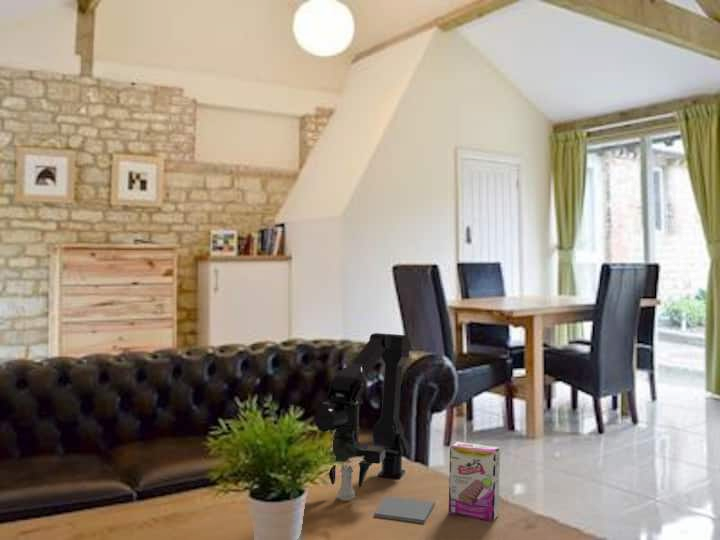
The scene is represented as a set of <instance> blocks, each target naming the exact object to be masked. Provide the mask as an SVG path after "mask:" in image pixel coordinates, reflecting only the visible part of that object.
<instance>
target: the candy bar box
mask: <svg viewBox="0 0 720 540" xmlns="http://www.w3.org/2000/svg"><path fill="white" fill-rule="evenodd" d="M500 460H501V448H500V447H498V446H491V445H485V444H478V443H471V442H463V441H457V440H456V441H454V442H453V443H452V444H450V446H449V478H448V481H449V482H448V483H449V484H448V487H449V488H448V514H451V515H457V516H461V517H466V518H471V519H477V520H483V521H487V522H495V521H496V519H497V518H498V516H499V515H500V513H499V512H500V511H499V510H500V509H499V508H500V506H499V504H500V465H501V461H500Z"/></svg>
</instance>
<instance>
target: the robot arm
mask: <svg viewBox="0 0 720 540" xmlns="http://www.w3.org/2000/svg"><path fill="white" fill-rule="evenodd" d="M411 347H412V342H411V340H410V339H409V337H408V336H407V335H406V334H396V333H395V334H394V333H381V332H379V333H378V332H374V333H372V334H370V337H369V340H368V341H367V343H366V345H364V347H362V350H361V351H360V352H359V354H358V355H357V356H356V358H355V359H354V361H353V362H352V363H351V364H350V365H349V366H345V367H343V368H342V369H341V370H340V371H339V372H337V374H335V376H334V377H333V379H332V381H331V384H330V387H329V389H328V392H327V394H326V397H325V398H324V402H322V403H321V408H319V409H317V411H316V412H315V415H314V418H313V419H314V424H315V427H316V428H317V427H318V428H317V429H318V430H319V431H321V432H322V433H326V432H325V431H328V430H331V431H334V432H335V430H336V432H335V434H334V433H333V437H334V440H333V451H334V454H335V456H336V461H340V462H342V463H344V462H347V461H348V460H349V457H360V458H361V461H360V462H359V463H358V465H359V472H358V488H359V489H360V488H362V486H363V483H364V480H365V478H366V475H367V473H368V470H369V468H370V467H371V466H372V465H374V464H376V465H377V464H381V470H380V471H379V472H378V473H377V476H378V477H382V478H383V477H384V478H391V479H392V478H393V479H401V478H402V477H403V475H404V474H405V473H406V470H405V469H403V468H402V467H403V457H405V456H406V457H407V456H408V454H409V453H410V448H411V446H410V444H409V442H408V440H407V439H406V437H405V429H404V425H403V423H402V421H401V419H400V405H401V404H400V403H401V390H402V389H401V388H402V375H403V366H404V365H405V363H406V362H407V361H408V359H409V356H410V352H411ZM380 358H381V359H382V362H383V364H384V375H383V388H382V389H383V390H382V391H383V392H382V404H381V417H380V418H379V419H378V420H377V422H374V424H373V434H372V441H373V442H372V443H373V445H369V446H368V447H367V448H359V447H360V441H359V432H360V430H361V425H359V424H360V419H359V418H360V405H362V404H364V400H363V399H362V398H360V397H361V396H362V394H363V392H364V390H365V388H366V387H367V377H368V375H369V373H370V372H371V370H373V368H374V366H375V365H376V363H377V362H378V360H379V359H380ZM328 432H329V431H328ZM328 477H329V480H330V483H331V485H334V484H335V482H336V465H334V466H333V467H332V468H331V470H330V473H329V474H328Z"/></svg>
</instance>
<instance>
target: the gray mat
mask: <svg viewBox="0 0 720 540" xmlns="http://www.w3.org/2000/svg"><path fill="white" fill-rule="evenodd" d="M434 507H435V501H429V500H421V499H416V498H415V499H414V498H406V497H401V496H400V497H399V496H390V495H387V496H386V497H385V499H384V500H383V501H382V502H381V504H380V505H379V506H378V508H377V509H376V510H375V511H374V512H373V517H375V518H382V519H383V518H384V519H389V520H390V519H391V520H397V521H404V522H411V523H412V522H413V523H417V524H418V523H419V524H426V522H427V520H428V518H429V516H430V515H431V512H432V510H433V508H434Z"/></svg>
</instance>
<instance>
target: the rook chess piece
mask: <svg viewBox="0 0 720 540" xmlns="http://www.w3.org/2000/svg"><path fill="white" fill-rule="evenodd" d="M339 471H340V472H341V476H340V477H341V483H340V487H339V489H338V491H337V498H338V500H339V501H342V502H350V501H353V500H354V499H355V497H356V495H355V494H356V492H355V489H354V487H353V485H352V478H353V475H352V473H353V472H354V469H353V466H352V465H350V464H349V465H348V464H347V465H342V466H341V469H340V470H339Z"/></svg>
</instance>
